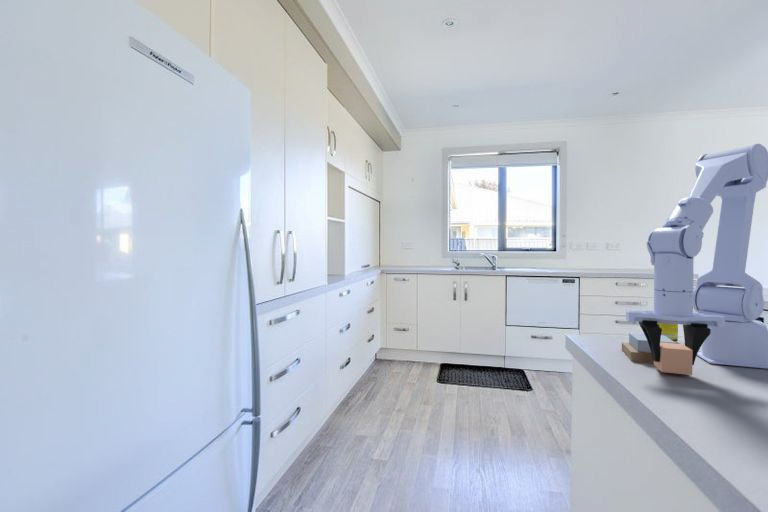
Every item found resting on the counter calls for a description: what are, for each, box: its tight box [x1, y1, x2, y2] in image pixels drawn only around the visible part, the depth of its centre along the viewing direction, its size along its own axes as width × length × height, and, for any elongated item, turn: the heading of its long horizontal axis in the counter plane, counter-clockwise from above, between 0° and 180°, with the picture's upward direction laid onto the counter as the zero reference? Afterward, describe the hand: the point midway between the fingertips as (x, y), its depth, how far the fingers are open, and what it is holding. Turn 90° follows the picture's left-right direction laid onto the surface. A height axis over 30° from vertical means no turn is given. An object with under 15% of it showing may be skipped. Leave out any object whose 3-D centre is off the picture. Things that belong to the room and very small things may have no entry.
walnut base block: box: [621, 342, 654, 364], centre depth 76 cm, size 8×8×2 cm
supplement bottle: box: [654, 319, 679, 344], centre depth 89 cm, size 5×5×8 cm
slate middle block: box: [628, 332, 675, 353], centre depth 76 cm, size 6×6×2 cm
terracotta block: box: [653, 342, 693, 376], centre depth 67 cm, size 4×4×4 cm
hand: (672, 361), depth 67 cm, fingers closed on terracotta block, 4 cm apart
